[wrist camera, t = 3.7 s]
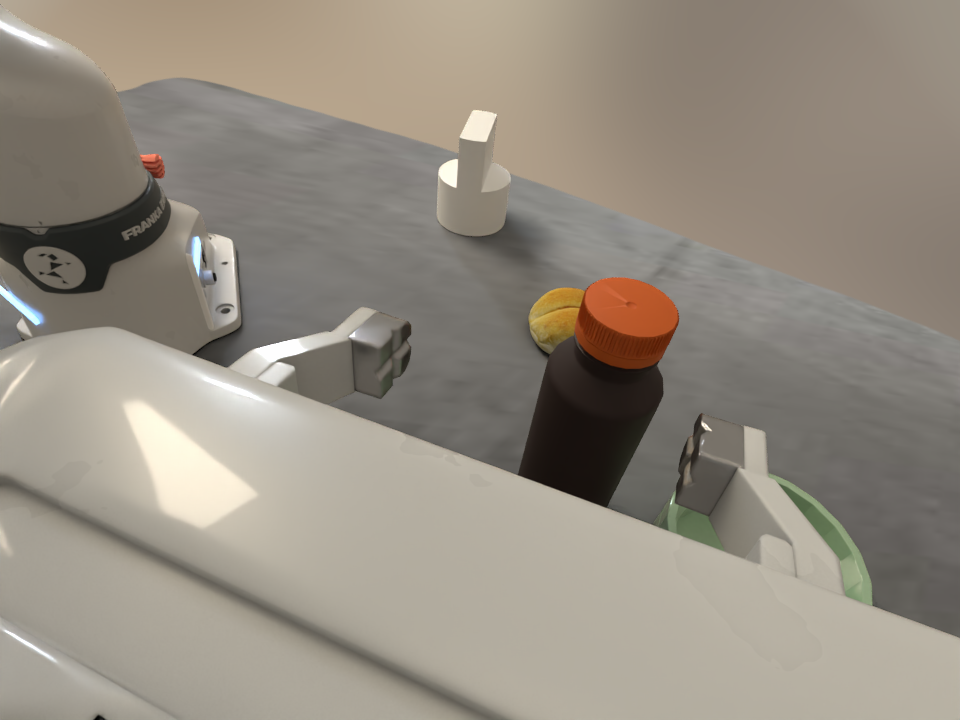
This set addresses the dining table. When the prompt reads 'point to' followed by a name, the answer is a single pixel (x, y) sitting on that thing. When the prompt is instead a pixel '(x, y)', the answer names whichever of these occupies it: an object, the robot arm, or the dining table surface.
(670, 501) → the bowl
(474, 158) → the cylinder with rectangular tab
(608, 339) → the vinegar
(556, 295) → the bread roll
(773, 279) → the dining table surface
